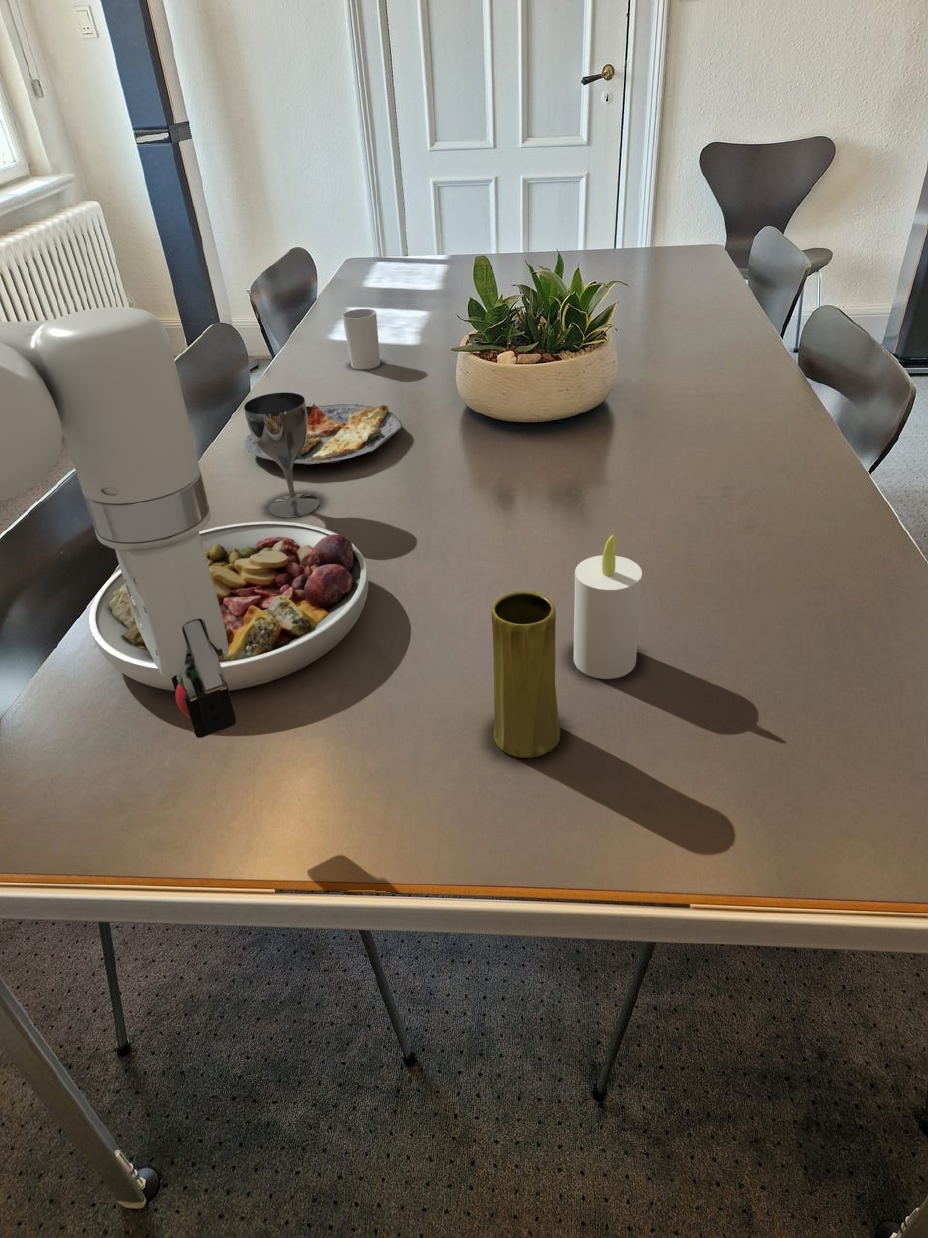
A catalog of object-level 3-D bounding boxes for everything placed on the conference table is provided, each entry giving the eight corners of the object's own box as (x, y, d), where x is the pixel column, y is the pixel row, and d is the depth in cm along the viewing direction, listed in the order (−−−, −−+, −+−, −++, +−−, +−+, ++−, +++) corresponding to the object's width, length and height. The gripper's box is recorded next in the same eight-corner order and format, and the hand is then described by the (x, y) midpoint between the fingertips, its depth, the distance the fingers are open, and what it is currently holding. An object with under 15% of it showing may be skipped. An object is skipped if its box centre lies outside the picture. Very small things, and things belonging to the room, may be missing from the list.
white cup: (385, 366, 168) (379, 315, 162) (352, 372, 167) (345, 320, 161) (378, 357, 173) (372, 306, 168) (346, 362, 172) (339, 311, 166)
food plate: (303, 410, 151) (300, 390, 149) (422, 420, 143) (421, 400, 141) (222, 468, 132) (217, 446, 130) (354, 484, 124) (351, 461, 122)
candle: (616, 634, 90) (622, 507, 82) (647, 669, 85) (658, 538, 76) (562, 649, 89) (563, 522, 80) (591, 685, 83) (595, 553, 75)
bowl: (119, 747, 80) (93, 682, 76) (90, 596, 103) (69, 540, 99) (412, 652, 90) (404, 589, 85) (326, 533, 113) (317, 479, 108)
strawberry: (190, 740, 65) (177, 695, 63) (176, 712, 68) (164, 668, 66) (240, 722, 67) (230, 677, 64) (225, 695, 70) (214, 651, 67)
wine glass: (334, 499, 121) (317, 397, 112) (296, 523, 115) (276, 418, 107) (292, 488, 125) (273, 389, 116) (254, 511, 119) (231, 408, 111)
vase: (552, 764, 75) (551, 633, 67) (485, 753, 77) (477, 623, 68) (566, 719, 80) (567, 591, 72) (503, 709, 81) (497, 583, 73)
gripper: (68, 476, 61) (135, 676, 72) (119, 574, 49) (190, 797, 60) (172, 451, 65) (221, 646, 75) (243, 538, 52) (290, 756, 63)
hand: (206, 711), depth 67 cm, fingers closed on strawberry, 3 cm apart
